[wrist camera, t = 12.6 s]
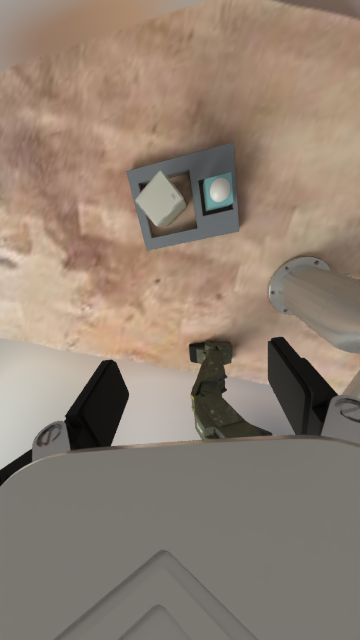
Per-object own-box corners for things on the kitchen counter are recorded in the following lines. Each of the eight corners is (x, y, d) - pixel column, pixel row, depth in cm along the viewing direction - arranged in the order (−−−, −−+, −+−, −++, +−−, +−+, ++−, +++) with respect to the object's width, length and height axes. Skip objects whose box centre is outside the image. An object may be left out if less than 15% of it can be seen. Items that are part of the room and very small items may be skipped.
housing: (231, 146, 32) (233, 141, 30) (236, 231, 37) (239, 231, 35) (129, 174, 34) (126, 171, 32) (148, 249, 39) (146, 250, 38)
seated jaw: (224, 181, 34) (232, 170, 27) (226, 206, 35) (234, 201, 29) (202, 186, 34) (205, 177, 28) (205, 211, 36) (208, 208, 30)
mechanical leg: (177, 365, 51) (217, 511, 24) (174, 343, 48) (217, 481, 21) (225, 356, 53) (312, 482, 26) (225, 334, 50) (325, 451, 23)
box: (171, 186, 34) (162, 165, 23) (187, 207, 36) (185, 196, 24) (151, 209, 36) (133, 199, 25) (167, 228, 37) (156, 227, 26)
